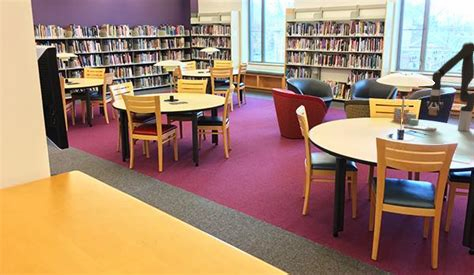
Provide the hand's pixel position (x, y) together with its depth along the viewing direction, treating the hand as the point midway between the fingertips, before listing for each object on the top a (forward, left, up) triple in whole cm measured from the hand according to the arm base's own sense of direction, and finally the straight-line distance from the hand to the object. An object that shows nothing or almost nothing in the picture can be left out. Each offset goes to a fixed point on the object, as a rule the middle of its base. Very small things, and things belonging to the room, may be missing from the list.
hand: (433, 113), depth 363 cm
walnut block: (0, 0, -1) cm, 1 cm away
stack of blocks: (-12, -27, -13) cm, 33 cm away
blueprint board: (+11, -7, -13) cm, 18 cm away
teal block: (+1, -15, -13) cm, 20 cm away
